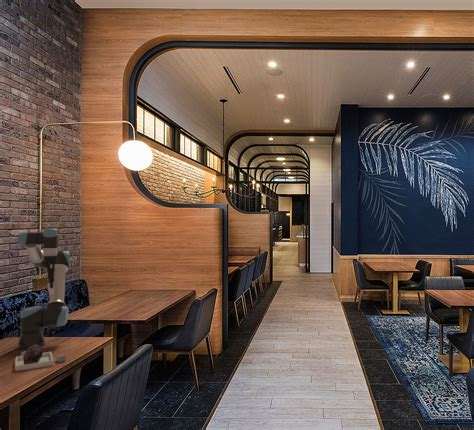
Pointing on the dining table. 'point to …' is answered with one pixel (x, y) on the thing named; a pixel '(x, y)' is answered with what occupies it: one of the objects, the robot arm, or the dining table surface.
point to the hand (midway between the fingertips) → (50, 292)
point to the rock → (33, 354)
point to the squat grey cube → (61, 358)
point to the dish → (43, 362)
